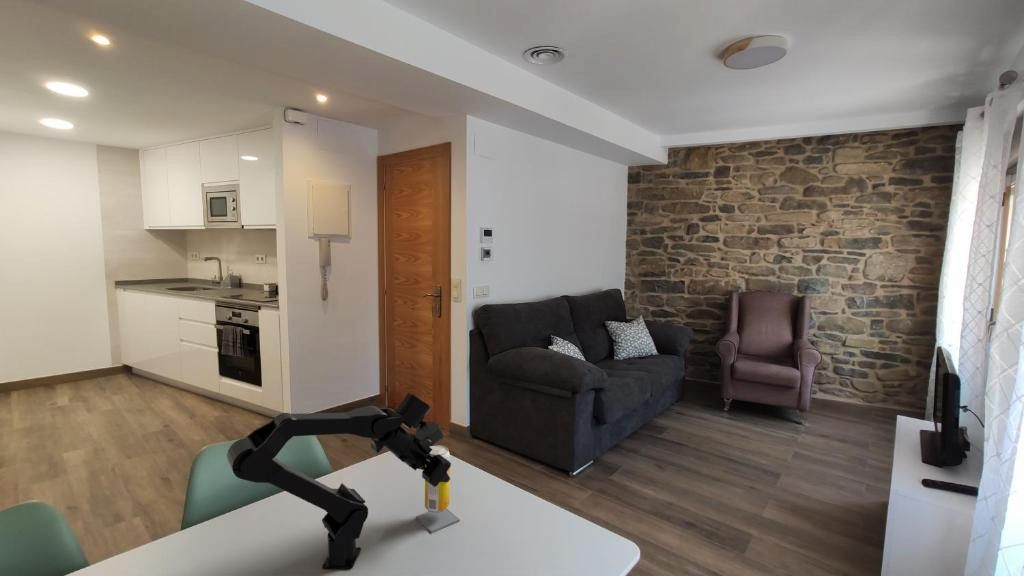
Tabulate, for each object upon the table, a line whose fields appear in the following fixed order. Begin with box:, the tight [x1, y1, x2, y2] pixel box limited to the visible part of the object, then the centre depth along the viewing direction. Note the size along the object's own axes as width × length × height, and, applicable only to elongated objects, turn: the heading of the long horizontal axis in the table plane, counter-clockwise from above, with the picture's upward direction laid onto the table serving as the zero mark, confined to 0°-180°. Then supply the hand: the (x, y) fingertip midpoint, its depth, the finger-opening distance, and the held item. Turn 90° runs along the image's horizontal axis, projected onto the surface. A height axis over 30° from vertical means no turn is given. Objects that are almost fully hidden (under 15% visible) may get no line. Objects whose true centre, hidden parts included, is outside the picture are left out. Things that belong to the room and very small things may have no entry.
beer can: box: [424, 445, 451, 513], centre depth 116 cm, size 6×6×15 cm
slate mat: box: [415, 508, 461, 534], centre depth 117 cm, size 8×8×1 cm
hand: (442, 475), depth 117 cm, fingers closed on beer can, 6 cm apart
